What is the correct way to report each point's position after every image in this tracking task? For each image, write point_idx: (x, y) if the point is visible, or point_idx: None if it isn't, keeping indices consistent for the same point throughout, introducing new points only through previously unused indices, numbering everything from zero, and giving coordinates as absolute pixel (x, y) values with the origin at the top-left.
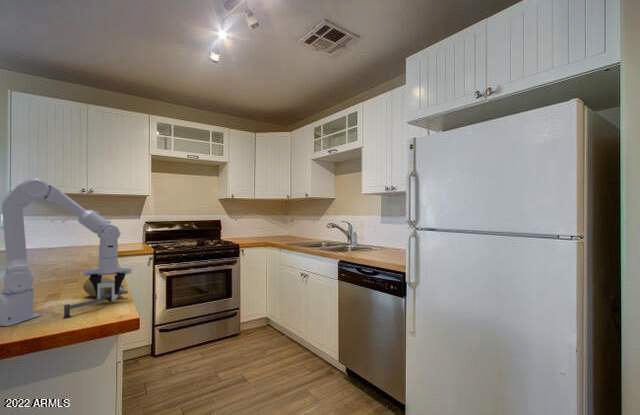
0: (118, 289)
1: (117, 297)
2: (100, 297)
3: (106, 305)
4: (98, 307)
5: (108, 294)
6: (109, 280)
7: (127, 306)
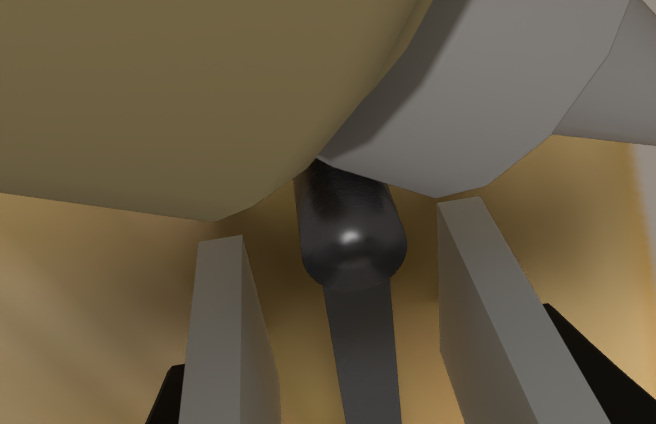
0: None
1: (480, 200)
2: (276, 413)
3: None
4: (309, 400)
5: (399, 412)
6: (37, 9)
7: (642, 381)
